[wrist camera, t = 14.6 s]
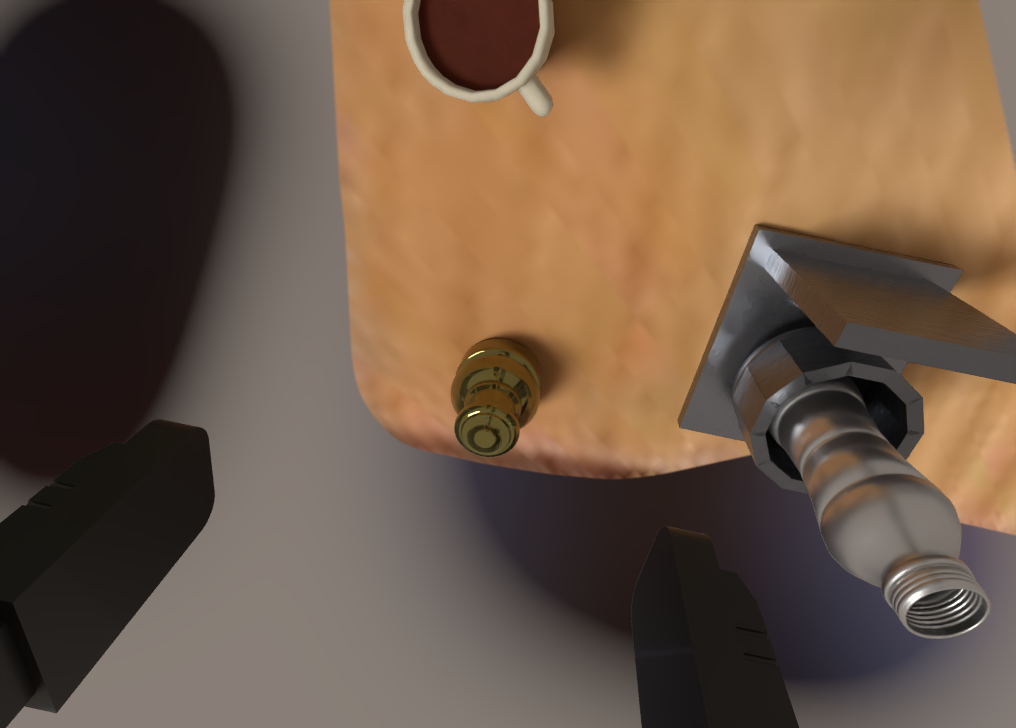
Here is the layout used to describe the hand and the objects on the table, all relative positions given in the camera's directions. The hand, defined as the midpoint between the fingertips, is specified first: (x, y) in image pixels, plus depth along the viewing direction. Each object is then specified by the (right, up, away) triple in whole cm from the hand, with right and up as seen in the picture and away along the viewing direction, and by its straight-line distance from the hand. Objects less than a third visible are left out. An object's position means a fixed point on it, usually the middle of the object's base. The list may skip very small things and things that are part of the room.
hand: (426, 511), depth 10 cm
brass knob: (+1, +2, +41) cm, 41 cm away
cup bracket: (+26, +4, +36) cm, 44 cm away
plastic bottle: (+24, +1, +34) cm, 41 cm away
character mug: (+1, +25, +28) cm, 37 cm away
